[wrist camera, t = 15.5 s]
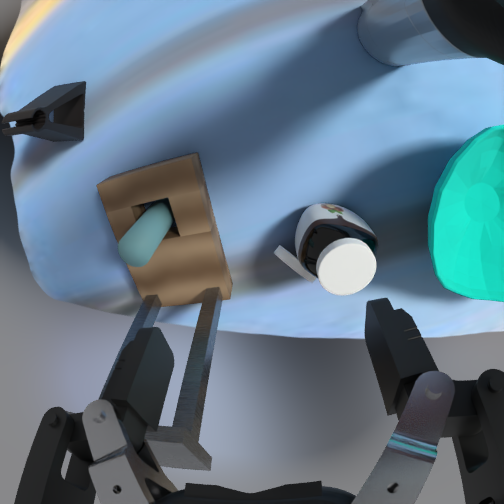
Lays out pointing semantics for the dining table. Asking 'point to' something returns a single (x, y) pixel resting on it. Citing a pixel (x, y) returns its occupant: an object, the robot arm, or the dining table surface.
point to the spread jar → (333, 249)
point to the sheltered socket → (175, 285)
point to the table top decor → (471, 219)
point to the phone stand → (65, 114)
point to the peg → (146, 234)
